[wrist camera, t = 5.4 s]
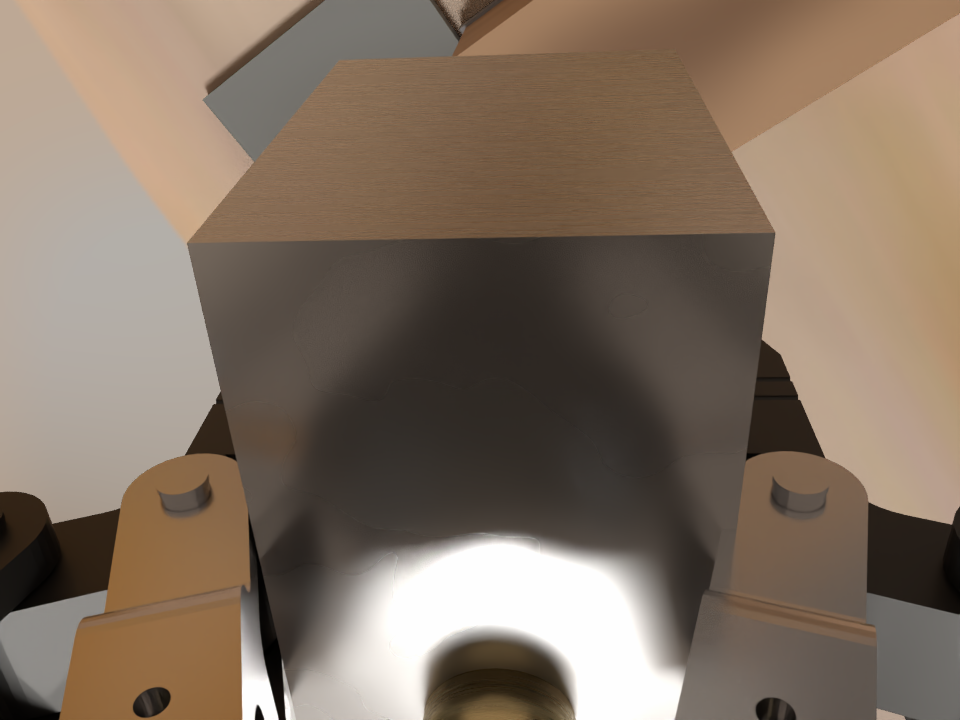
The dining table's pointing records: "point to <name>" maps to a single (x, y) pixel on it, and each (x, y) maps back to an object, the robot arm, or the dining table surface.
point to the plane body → (721, 44)
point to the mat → (323, 60)
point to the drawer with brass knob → (489, 380)
